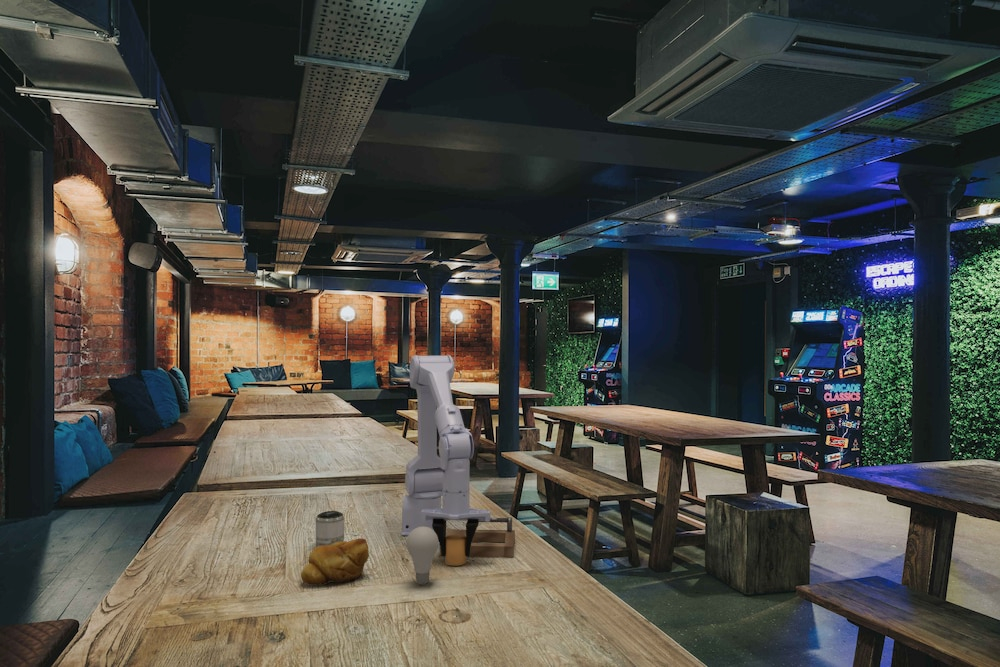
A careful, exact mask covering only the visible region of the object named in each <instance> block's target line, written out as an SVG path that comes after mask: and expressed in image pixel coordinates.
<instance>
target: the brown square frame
mask: <svg viewBox="0 0 1000 667" xmlns="http://www.w3.org/2000/svg"><path fill="white" fill-rule="evenodd" d="M450 535H463V536H466V529H460V528H459V529H448V528H446V537H447V536H450ZM515 540H516V530H515V529H512V532H507V529H476V531H475V534H474V536H473V539H472V542H505V543H471V548H470V555H469V557H468V558H498V557H503V559H504V558H505V559H507V558H509V559H512V558H513V559H514V558H515V557H514V555H515V545H514V544H515V543H516V541H515ZM440 556H442V553H441V548H440V547H439V557H440ZM445 556H446V555H445Z"/></svg>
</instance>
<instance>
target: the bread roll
mask: <svg viewBox="0 0 1000 667" xmlns="http://www.w3.org/2000/svg"><path fill="white" fill-rule="evenodd" d="M368 545H369V544H368V542H367V540H366V538H362V537H361V538H355V539H352V540H349V541H346V540H344V541H341V542H335V543H333V544H332V545H324V546H323V545H321V546H318V547H317V546H315V547H314V548H313V549H312V550H311V552H310V553H309V555H308V563H307V564H306V565H305V566H304V567H303V568H302V571H301V572H300V577H301V580H302V582H303V583H305V584H307V585H310V586H321V585H326V584H329V583H346V582H350V581H353V580H355V579H358V577H360V576H361V574H362V573H363V571H364V567H365V563H366V562H368V559H369V557H370V555H369V546H368Z"/></svg>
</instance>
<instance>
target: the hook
mask: <svg viewBox="0 0 1000 667" xmlns="http://www.w3.org/2000/svg"><path fill="white" fill-rule="evenodd" d="M479 523H486V522H485V521H479ZM489 523H506V530H507V532H512V530H513V517H510V516H509V517H490V522H489Z"/></svg>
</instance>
